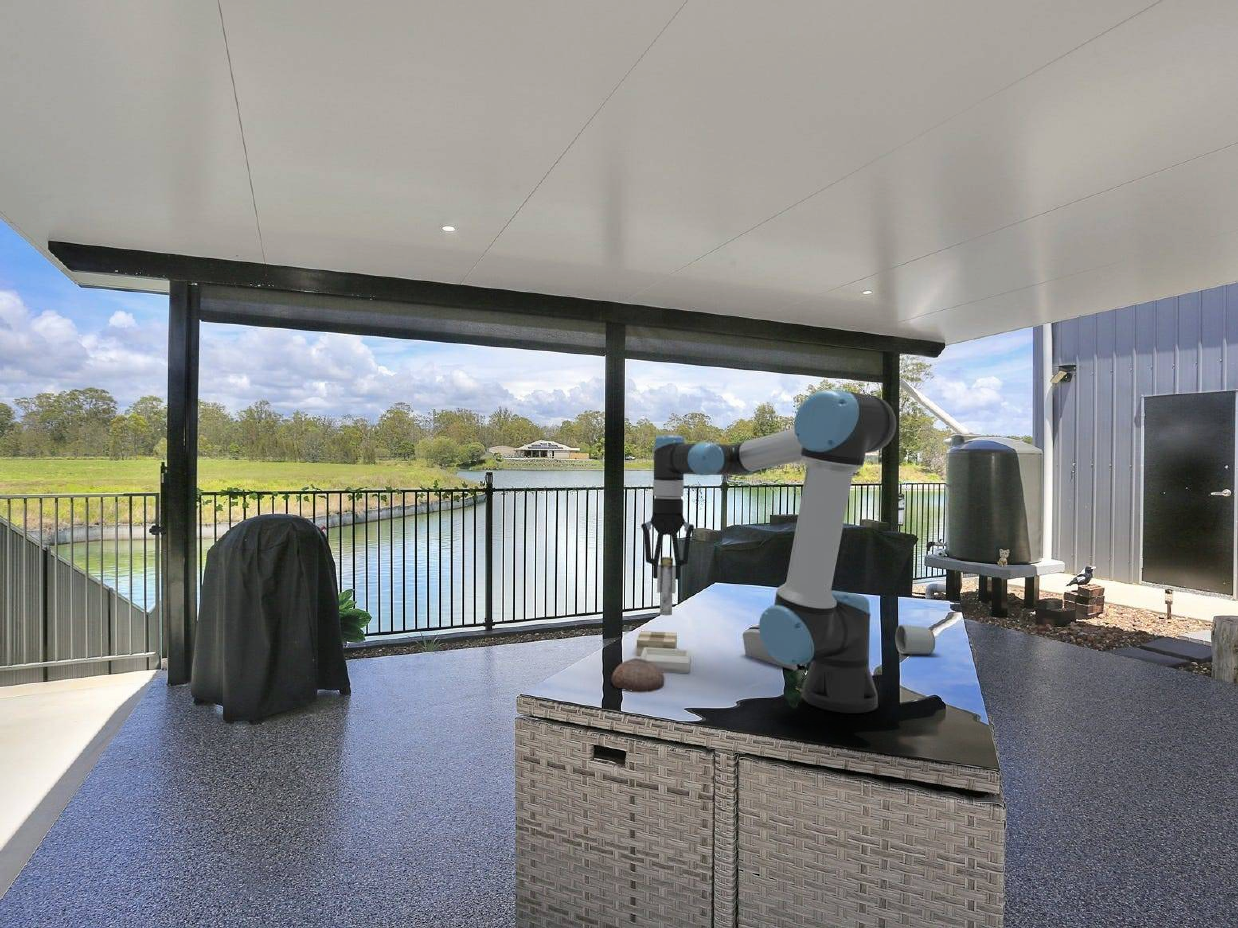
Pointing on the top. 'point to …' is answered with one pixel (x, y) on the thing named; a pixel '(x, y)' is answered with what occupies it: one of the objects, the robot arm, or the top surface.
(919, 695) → the top surface
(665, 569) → the pin
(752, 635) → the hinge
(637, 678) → the decorative stone
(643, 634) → the socket block
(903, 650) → the grey hollow cylinder
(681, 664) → the tray
